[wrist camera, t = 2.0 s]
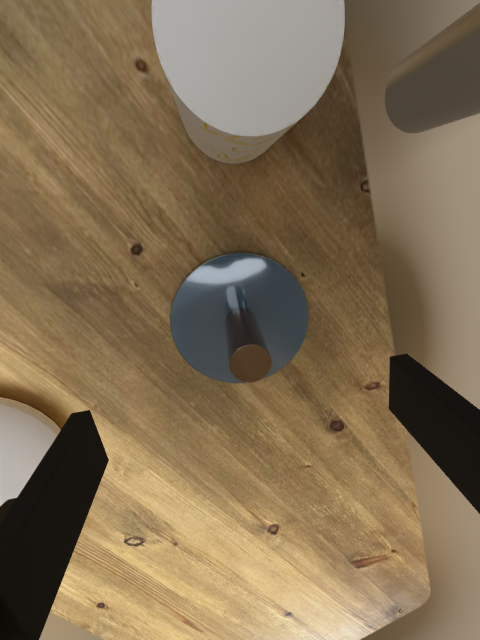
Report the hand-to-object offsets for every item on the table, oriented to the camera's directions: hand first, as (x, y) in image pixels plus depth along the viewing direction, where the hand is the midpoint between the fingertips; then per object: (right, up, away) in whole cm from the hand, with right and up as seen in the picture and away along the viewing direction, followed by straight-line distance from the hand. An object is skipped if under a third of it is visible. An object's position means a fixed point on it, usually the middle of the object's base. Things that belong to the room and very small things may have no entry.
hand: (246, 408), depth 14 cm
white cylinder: (-1, +20, +11) cm, 23 cm away
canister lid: (0, +4, +16) cm, 17 cm away
